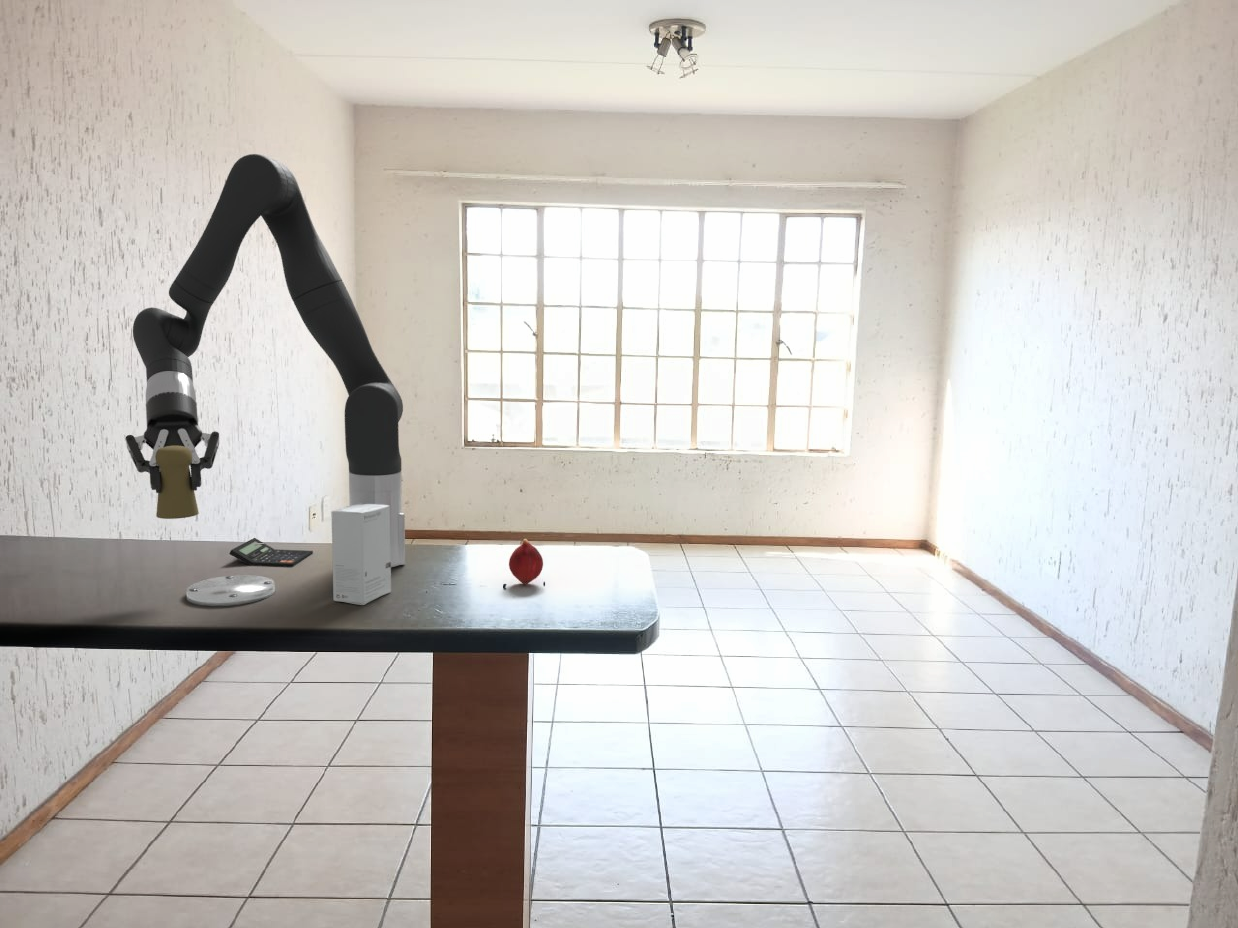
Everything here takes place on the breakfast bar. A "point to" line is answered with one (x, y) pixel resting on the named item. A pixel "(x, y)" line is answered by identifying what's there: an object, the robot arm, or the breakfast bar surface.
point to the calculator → (268, 554)
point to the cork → (175, 483)
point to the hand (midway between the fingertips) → (176, 488)
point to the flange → (230, 590)
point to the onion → (526, 563)
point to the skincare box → (361, 553)
